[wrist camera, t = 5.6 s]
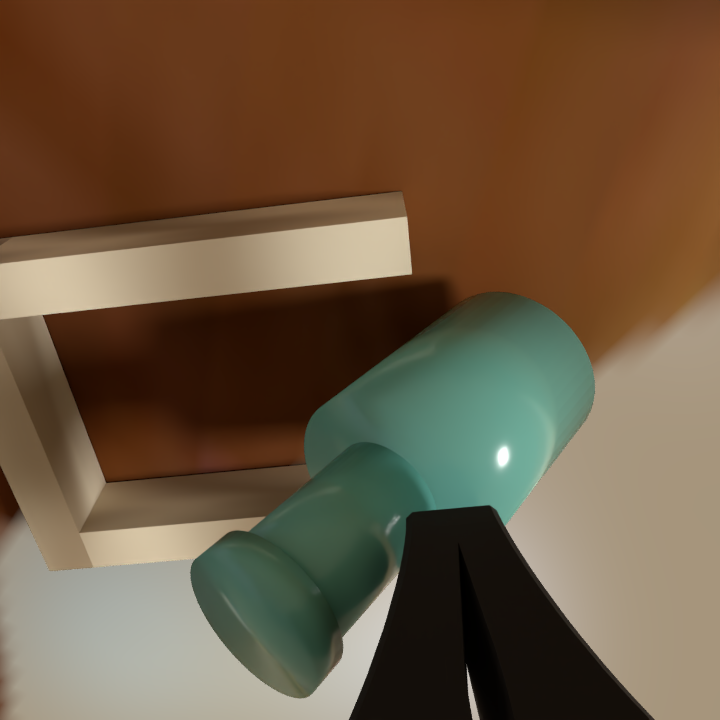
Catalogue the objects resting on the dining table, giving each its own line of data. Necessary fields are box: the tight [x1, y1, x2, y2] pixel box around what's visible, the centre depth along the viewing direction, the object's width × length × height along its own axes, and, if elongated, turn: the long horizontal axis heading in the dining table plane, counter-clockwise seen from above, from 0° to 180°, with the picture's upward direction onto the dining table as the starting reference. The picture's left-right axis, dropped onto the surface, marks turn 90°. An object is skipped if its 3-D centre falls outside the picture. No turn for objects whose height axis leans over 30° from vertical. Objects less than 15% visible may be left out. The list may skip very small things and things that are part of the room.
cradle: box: [0, 191, 412, 571], centre depth 16 cm, size 10×8×2 cm
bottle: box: [190, 292, 595, 698], centre depth 13 cm, size 4×4×8 cm
